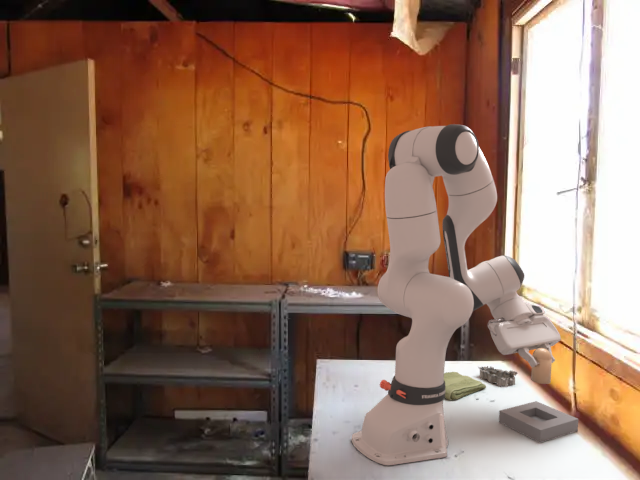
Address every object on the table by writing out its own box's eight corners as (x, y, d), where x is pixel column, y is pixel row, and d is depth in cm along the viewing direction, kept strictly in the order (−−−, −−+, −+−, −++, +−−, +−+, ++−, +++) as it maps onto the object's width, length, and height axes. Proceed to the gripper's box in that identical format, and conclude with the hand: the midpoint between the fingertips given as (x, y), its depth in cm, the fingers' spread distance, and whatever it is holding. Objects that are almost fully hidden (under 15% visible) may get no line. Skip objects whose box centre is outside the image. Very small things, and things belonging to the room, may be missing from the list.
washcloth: (488, 390, 148) (488, 379, 148) (452, 404, 137) (452, 392, 137) (451, 377, 158) (452, 367, 158) (415, 389, 147) (416, 378, 147)
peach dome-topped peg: (542, 385, 119) (544, 351, 119) (527, 379, 123) (528, 347, 122) (554, 382, 121) (556, 349, 121) (538, 376, 125) (540, 344, 125)
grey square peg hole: (540, 442, 114) (540, 430, 114) (498, 422, 125) (499, 410, 125) (577, 430, 121) (578, 418, 121) (535, 412, 132) (536, 401, 131)
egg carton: (518, 385, 152) (519, 372, 152) (501, 388, 149) (501, 375, 148) (492, 374, 162) (493, 361, 161) (475, 377, 158) (476, 364, 158)
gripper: (492, 313, 122) (523, 363, 114) (546, 306, 132) (578, 352, 124) (477, 327, 126) (506, 376, 118) (531, 319, 136) (561, 364, 128)
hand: (543, 364), depth 121 cm, fingers closed on peach dome-topped peg, 4 cm apart
